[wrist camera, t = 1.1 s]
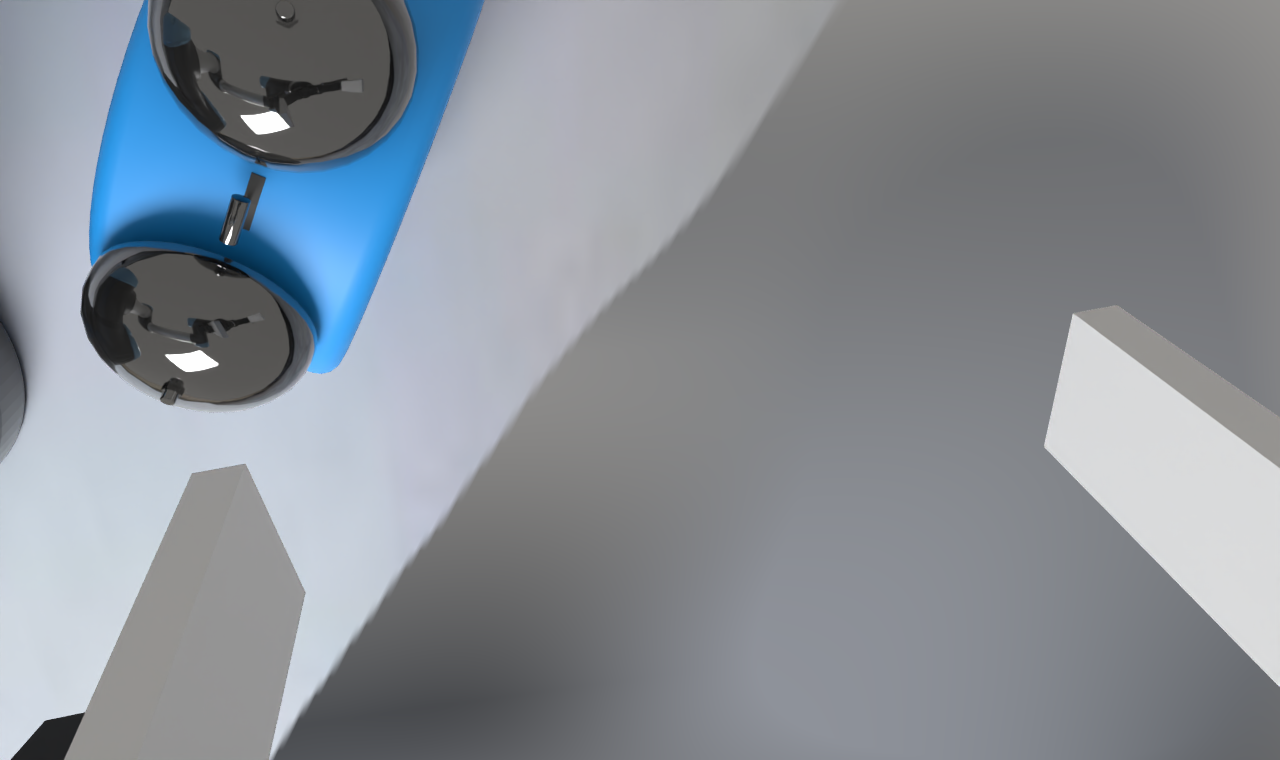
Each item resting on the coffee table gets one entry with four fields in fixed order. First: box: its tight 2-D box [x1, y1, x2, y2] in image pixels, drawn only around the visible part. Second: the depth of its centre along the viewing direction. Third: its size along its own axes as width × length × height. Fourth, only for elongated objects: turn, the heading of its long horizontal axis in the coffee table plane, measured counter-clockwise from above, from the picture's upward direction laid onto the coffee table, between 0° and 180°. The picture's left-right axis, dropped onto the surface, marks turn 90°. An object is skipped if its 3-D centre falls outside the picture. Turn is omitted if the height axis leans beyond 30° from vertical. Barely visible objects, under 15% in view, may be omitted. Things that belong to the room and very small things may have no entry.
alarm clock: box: [81, 0, 484, 413], centre depth 22 cm, size 13×6×15 cm, turn 152°
